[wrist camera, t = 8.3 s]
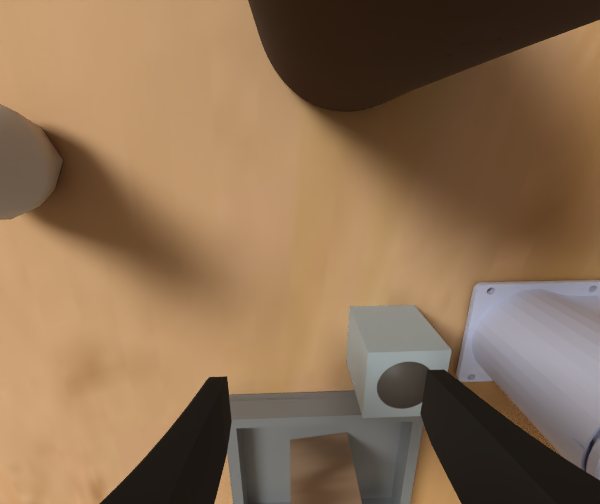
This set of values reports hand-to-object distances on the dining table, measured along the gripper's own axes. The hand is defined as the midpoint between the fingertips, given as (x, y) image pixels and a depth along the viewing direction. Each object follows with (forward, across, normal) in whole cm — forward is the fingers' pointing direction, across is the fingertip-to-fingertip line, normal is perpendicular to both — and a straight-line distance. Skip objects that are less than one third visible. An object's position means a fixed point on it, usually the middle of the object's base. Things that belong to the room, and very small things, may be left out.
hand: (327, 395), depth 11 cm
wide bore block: (+10, -5, +4) cm, 11 cm away
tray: (+9, -1, +15) cm, 18 cm away
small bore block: (+9, -1, +15) cm, 17 cm away
